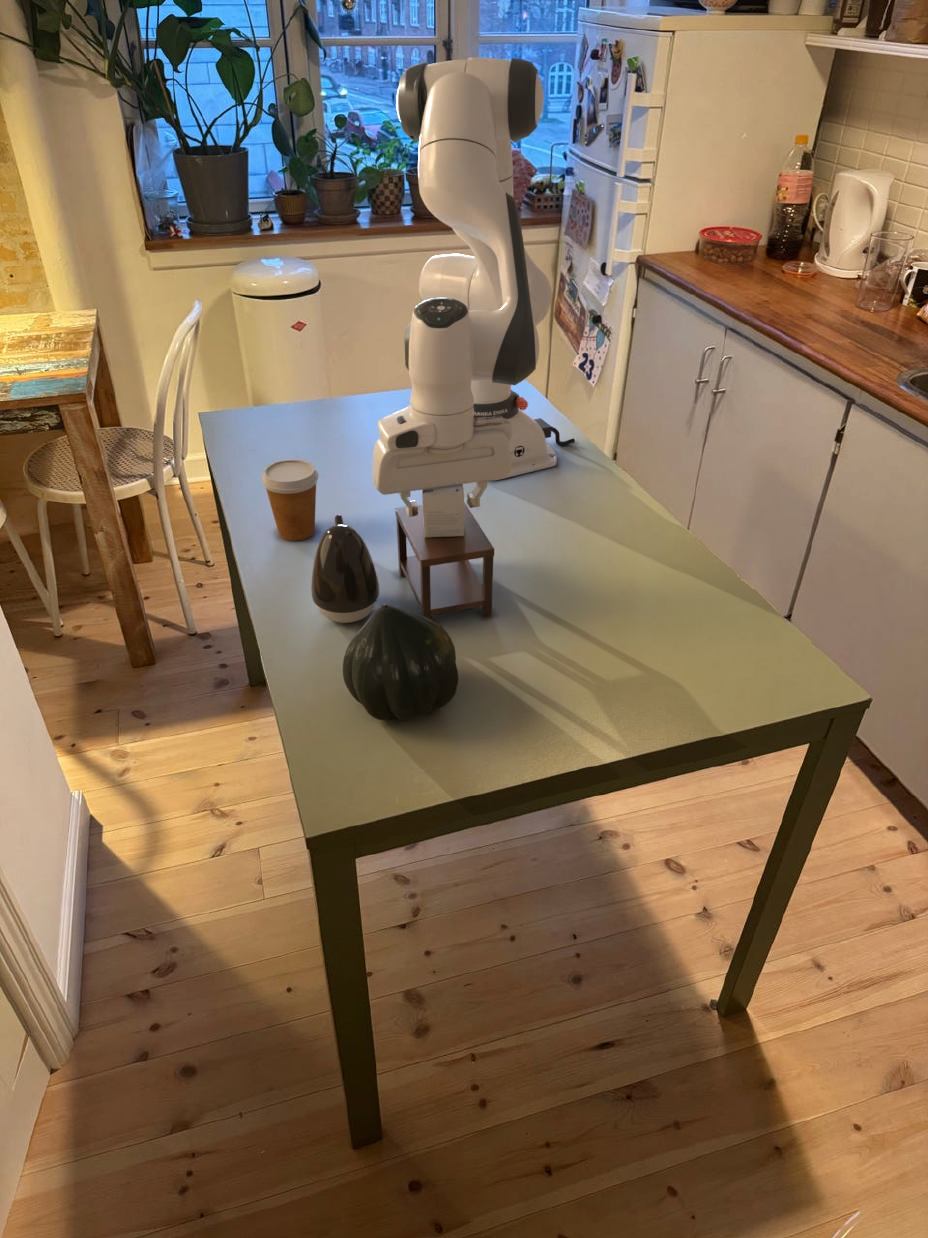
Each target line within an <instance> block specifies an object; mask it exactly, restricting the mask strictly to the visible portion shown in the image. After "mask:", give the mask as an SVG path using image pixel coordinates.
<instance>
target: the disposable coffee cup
mask: <svg viewBox="0 0 928 1238" xmlns="http://www.w3.org/2000/svg"><path fill="white" fill-rule="evenodd" d="M318 480H319V472H318V471H317V469H316V467H315V465H314V464H313V463H312V462H310V461H307V460H305V459H299V458H298V459H297V458H289V459H281V460H277V461H274V462H272V463H269V464H268V465H267V466H265V468H264V469H263V473H262V476H261V483H262V485H263V487H264V488H265V489H266V493H267V497H268V500H269V504H270V507H271V510H272V514H273V515H272V516H273V519H274V522H275V525H276V529H277V532H278V536H279V537H280V538H281V539H282V540H286V541H291V542H297V541H304V540H306V539H308V538H310V537H312V536H313V535H314V534H315V531H316V504H317V503H316V502H317V500H316V498H317V482H318Z"/></svg>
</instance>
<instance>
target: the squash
mask: <svg viewBox="0 0 928 1238" xmlns="http://www.w3.org/2000/svg"><path fill="white" fill-rule="evenodd" d="M456 656H457V654H456V647H455V645H454V642H453V639H452V638H451V636H450V635H449V633H448V632H447V630H446V629H445V628H444V627H443V626H442V625H441V624H439V623H438V622H437V621H434V620H433V619H431V620H430V619H428V618H426V617H424V616H422V614H419V613H416V612H413V611H410V610H408V609H404V608H401V607H399V606H396V605H392V604H388V603H383V604H382V605H381V606H380V607H378V608H377V609H376V610H374V612H373V613H372V614H371V616H370V617H369V618H368V620H367V621H366V622H365V623H364V624H363V626H362V627H361V628H360V629H359V631H358V632H357V633H356V634H355V635H354V637H353V638H352V639H351V641H350V642H349V644H348V646H347V647H346V650H345V653H344V656H343V660H342V677H343V682H344V684H345V686H346V688H347V690H348V692H349V693H350V695H351V696H352V697H353V698H354V700H356V702H358V703H359V704H361V705H362V706H363V708H364V709H365V711H366V712H367V713H368V714H369V715H370V717H372V718H374V719H375V720H378V721H379V720H380V721H388V720H392V719H394V718H397V719H398V720H401V721H408V720H410V719H412V717H413V716H414V714H415V713H416V714H419V715H423V714H427V713H429V712H431V711H432V710H437V709H440V708H442V707H444V706H447V704H449V703H450V702H451V701H452V700H453V698H454V697H455V695H456V693H457V690H458V689H457V688H458V685H459V684H458V683H459V672H458V671H459V670H458V668H457V667H458V666H457V662H456V661H457V660H456V658H457V657H456Z"/></svg>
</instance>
